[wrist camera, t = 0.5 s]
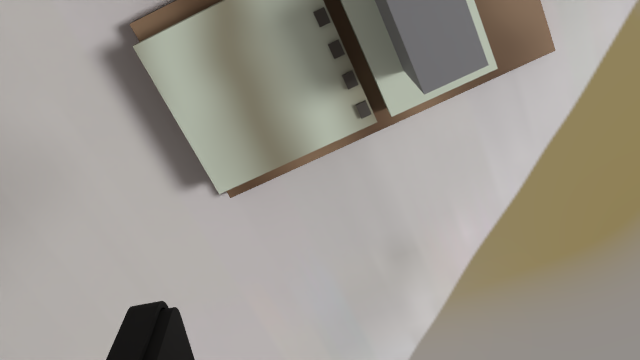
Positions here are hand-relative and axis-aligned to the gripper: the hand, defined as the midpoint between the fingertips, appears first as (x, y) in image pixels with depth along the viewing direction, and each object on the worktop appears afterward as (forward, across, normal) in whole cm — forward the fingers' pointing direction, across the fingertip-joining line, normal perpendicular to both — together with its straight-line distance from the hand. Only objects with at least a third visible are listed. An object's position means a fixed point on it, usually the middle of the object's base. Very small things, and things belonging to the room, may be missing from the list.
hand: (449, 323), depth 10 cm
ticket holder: (+24, -1, -2) cm, 24 cm away
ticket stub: (+23, -4, -2) cm, 23 cm away
